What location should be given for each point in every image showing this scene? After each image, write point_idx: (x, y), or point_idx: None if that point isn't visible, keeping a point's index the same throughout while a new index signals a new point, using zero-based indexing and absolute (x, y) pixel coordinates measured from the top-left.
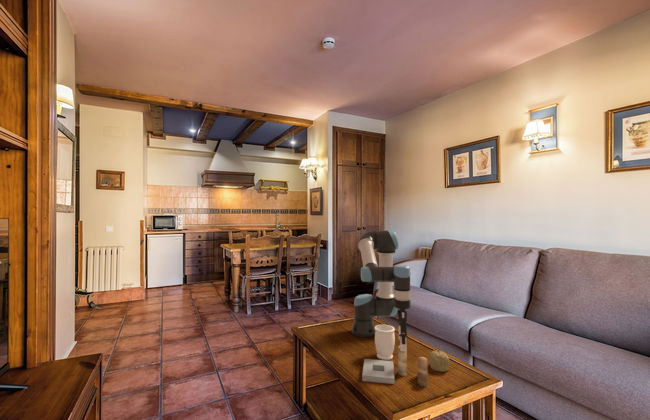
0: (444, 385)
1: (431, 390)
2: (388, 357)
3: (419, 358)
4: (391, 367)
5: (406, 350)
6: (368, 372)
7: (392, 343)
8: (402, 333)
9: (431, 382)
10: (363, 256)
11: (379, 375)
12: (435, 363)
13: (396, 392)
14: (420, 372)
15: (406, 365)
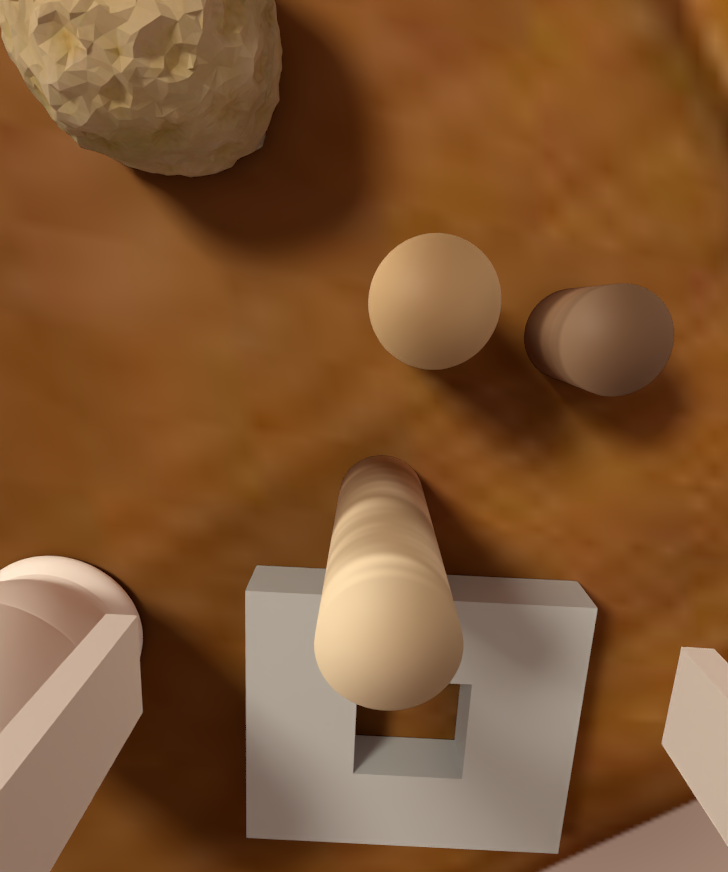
0: (573, 102)
1: (671, 265)
2: (115, 610)
3: (427, 350)
4: None
5: (725, 662)
6: (508, 810)
7: (18, 672)
8: (74, 745)
9: (523, 234)
10: None
11: (554, 728)
12: (261, 103)
13: (705, 576)
14: (606, 363)
15: (407, 490)
